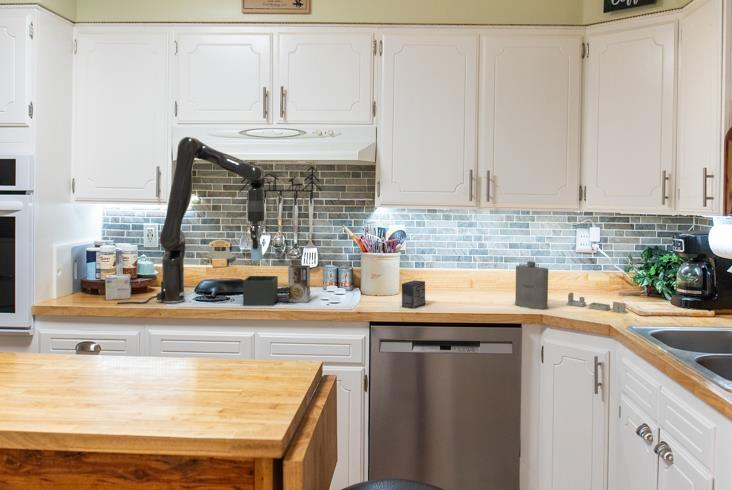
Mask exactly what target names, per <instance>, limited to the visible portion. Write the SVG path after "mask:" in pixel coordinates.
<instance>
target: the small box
mask: <svg viewBox="0 0 732 490" xmlns="http://www.w3.org/2000/svg"><path fill="white" fill-rule="evenodd" d="M424 305H426V281H424V280H411V281H407V282H404V283H403V282H402V283H401V307H403V308H408V309H416V308H418V307H421V306H424Z"/></svg>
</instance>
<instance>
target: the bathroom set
mask: <svg viewBox="0 0 732 490" xmlns="http://www.w3.org/2000/svg"><path fill="white" fill-rule="evenodd" d="M567 306H573V307H581V308H582V307H583V308H584V307H585V306H587V302H586V301H585V297H584V296H579V299H578V300H574V292H572V291H571V292H569V293H568V294H567ZM626 306H627V305H626V303H625V302H618V301H613V302H612V312H613V313H620V314H626ZM588 308H589V309H591V310H598V311H603V312H604V311H606V312H607V311H609V310H610V309H611V304H607V303H599V302H594V301H593V302H591V303H589V305H588Z"/></svg>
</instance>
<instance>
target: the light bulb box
mask: <svg viewBox="0 0 732 490" xmlns="http://www.w3.org/2000/svg"><path fill="white" fill-rule="evenodd" d="M131 280H132V279H131V274H130V273H125V274H107V275H106V276H105V277H104V281H105V301H111V300H127V299H131V297H132V282H131Z"/></svg>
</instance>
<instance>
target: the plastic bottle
mask: <svg viewBox="0 0 732 490" xmlns="http://www.w3.org/2000/svg"><path fill="white" fill-rule="evenodd" d="M262 246H263V244H262V243H261V238H259V237H258V248H257V249H253V243H252V244H250V260H251V261H262V260H263V247H262Z"/></svg>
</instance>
